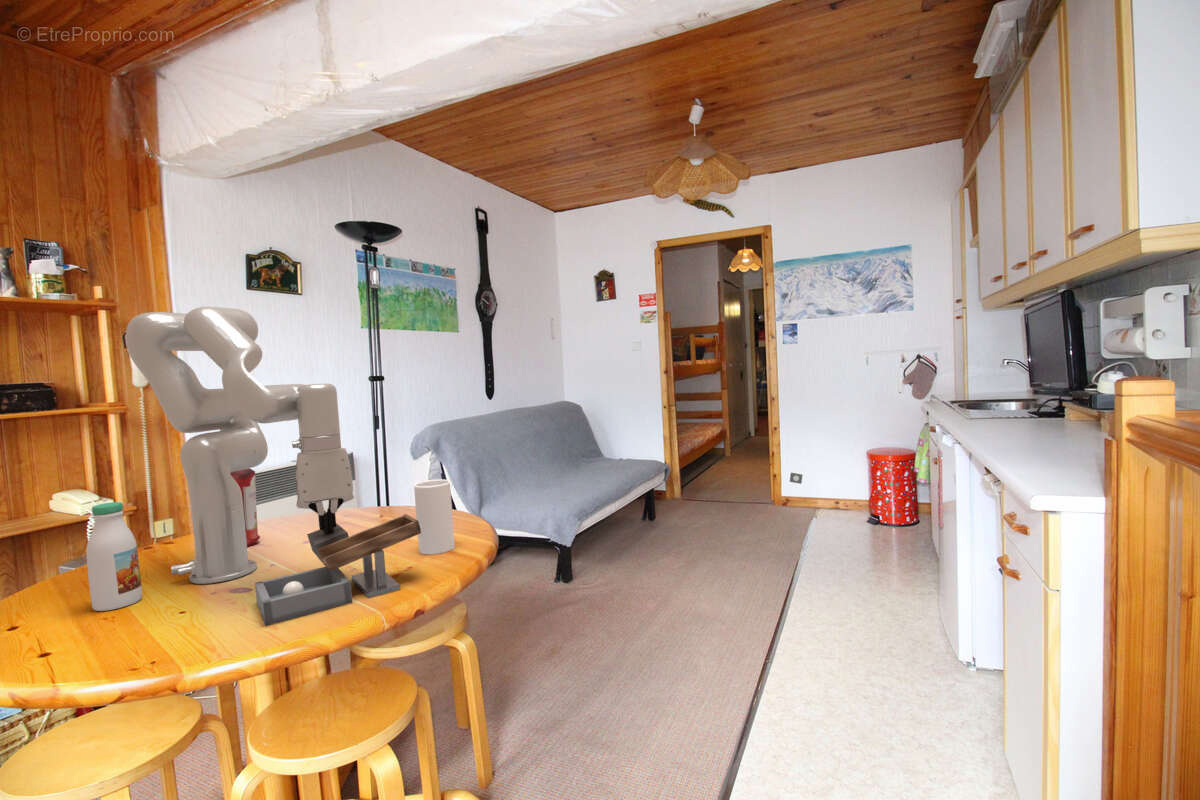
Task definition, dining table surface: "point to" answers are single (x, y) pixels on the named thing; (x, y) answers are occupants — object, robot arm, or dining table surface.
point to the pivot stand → (375, 577)
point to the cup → (434, 516)
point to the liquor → (248, 502)
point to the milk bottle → (112, 560)
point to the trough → (360, 541)
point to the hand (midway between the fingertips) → (328, 531)
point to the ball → (292, 588)
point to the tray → (302, 594)
